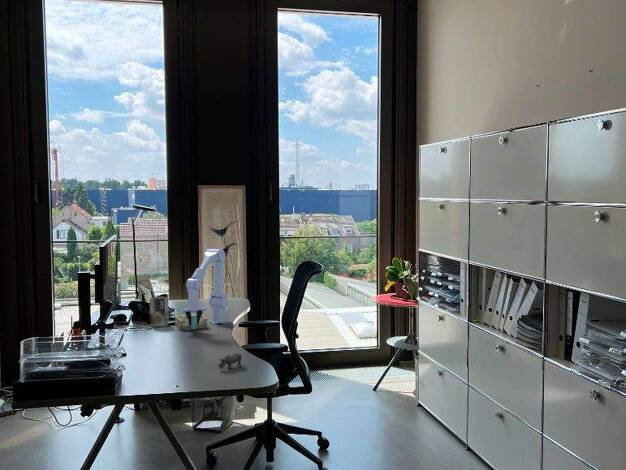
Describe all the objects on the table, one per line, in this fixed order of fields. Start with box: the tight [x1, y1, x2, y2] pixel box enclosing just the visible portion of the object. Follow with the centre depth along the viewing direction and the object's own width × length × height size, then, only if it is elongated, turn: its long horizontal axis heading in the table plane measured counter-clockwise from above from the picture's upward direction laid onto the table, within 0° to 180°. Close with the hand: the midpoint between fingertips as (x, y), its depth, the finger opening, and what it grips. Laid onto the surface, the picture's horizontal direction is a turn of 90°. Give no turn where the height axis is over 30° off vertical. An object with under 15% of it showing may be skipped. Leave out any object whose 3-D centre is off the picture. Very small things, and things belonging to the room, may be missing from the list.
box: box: [174, 313, 208, 332], centre depth 332 cm, size 15×15×6 cm
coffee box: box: [149, 296, 170, 327], centre depth 335 cm, size 9×6×16 cm
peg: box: [191, 315, 198, 330], centre depth 321 cm, size 4×4×7 cm
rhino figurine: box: [217, 352, 243, 370], centre depth 254 cm, size 4×14×6 cm, turn 139°
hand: (193, 324), depth 321 cm, fingers closed on peg, 4 cm apart
